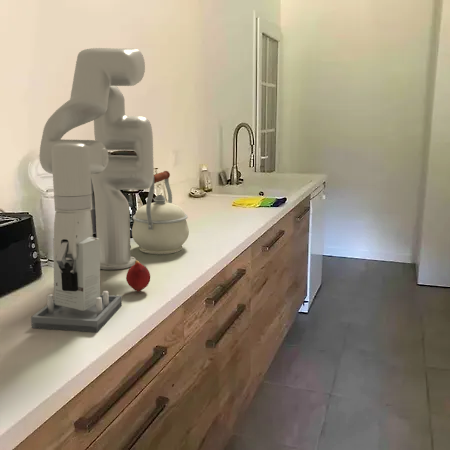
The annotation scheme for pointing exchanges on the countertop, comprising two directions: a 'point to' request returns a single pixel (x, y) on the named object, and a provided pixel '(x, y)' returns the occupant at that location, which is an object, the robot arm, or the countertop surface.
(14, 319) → the countertop surface
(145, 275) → the onion
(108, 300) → the pin tray
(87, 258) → the skincare box
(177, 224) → the kettle
